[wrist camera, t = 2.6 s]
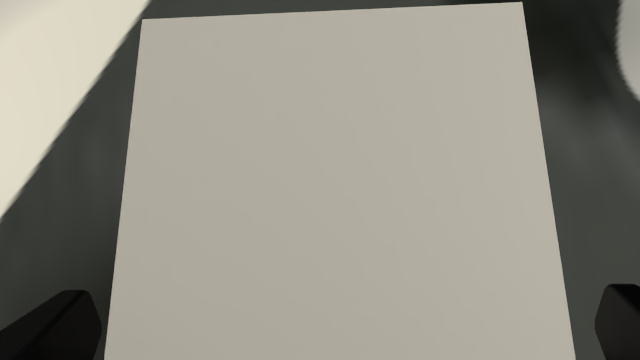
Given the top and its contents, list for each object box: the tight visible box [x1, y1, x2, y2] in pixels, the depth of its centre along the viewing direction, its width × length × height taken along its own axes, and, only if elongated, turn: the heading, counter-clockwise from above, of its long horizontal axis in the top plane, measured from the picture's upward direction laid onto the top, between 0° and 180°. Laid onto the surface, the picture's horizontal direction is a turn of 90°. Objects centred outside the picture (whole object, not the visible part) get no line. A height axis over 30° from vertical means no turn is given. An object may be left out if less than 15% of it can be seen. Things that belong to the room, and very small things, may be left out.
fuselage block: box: [104, 2, 575, 360], centre depth 11 cm, size 4×4×12 cm
